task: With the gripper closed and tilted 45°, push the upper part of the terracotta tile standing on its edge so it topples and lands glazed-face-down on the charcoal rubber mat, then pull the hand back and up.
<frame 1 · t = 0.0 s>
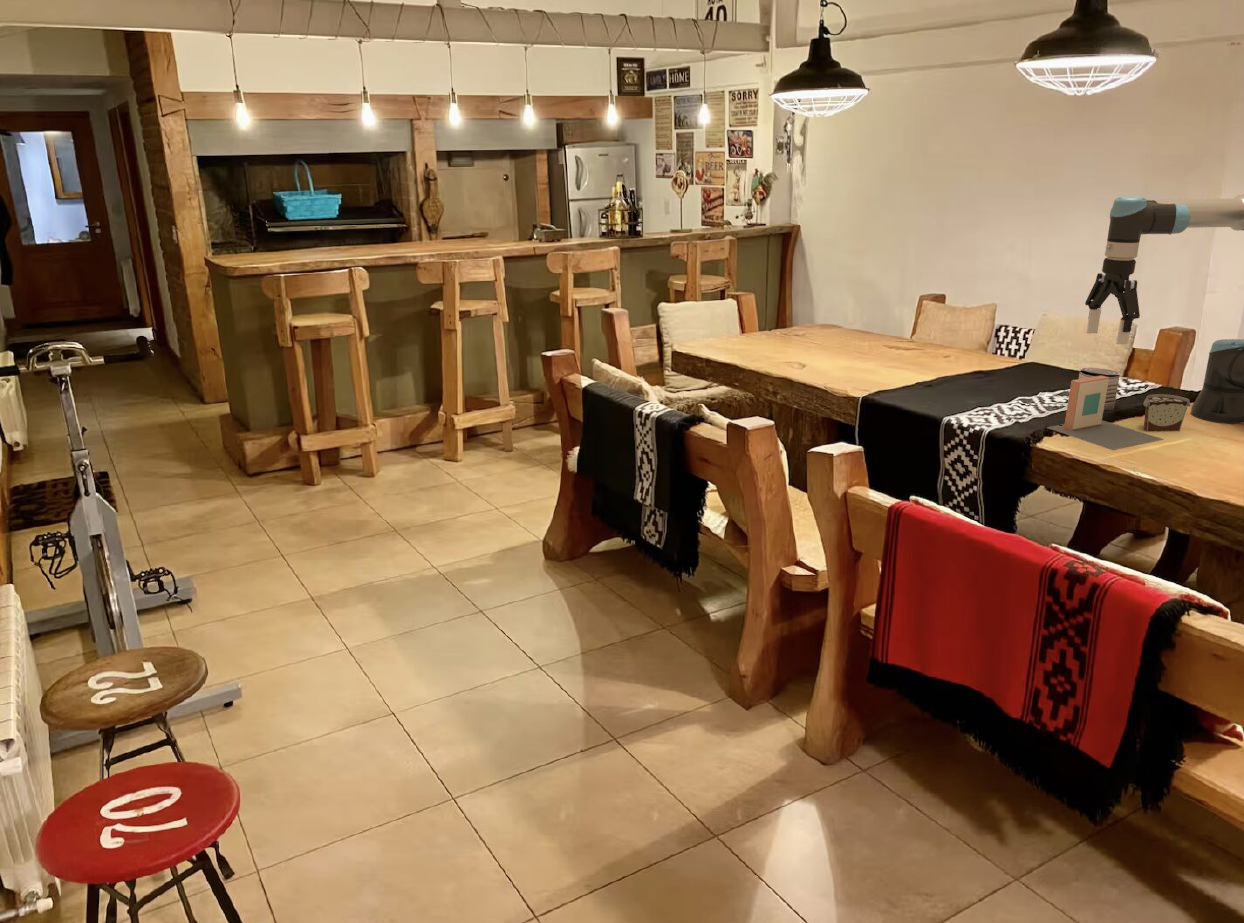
hand: (1106, 338, 250), 28 cm above the table, tool pointing down, fingers open, 13 cm apart
tile: (1082, 426, 266), point 1 cm above the table, touching mat
mat: (1103, 435, 260), on the table
food container: (1156, 431, 265), on the table
can: (1093, 407, 287), on the table
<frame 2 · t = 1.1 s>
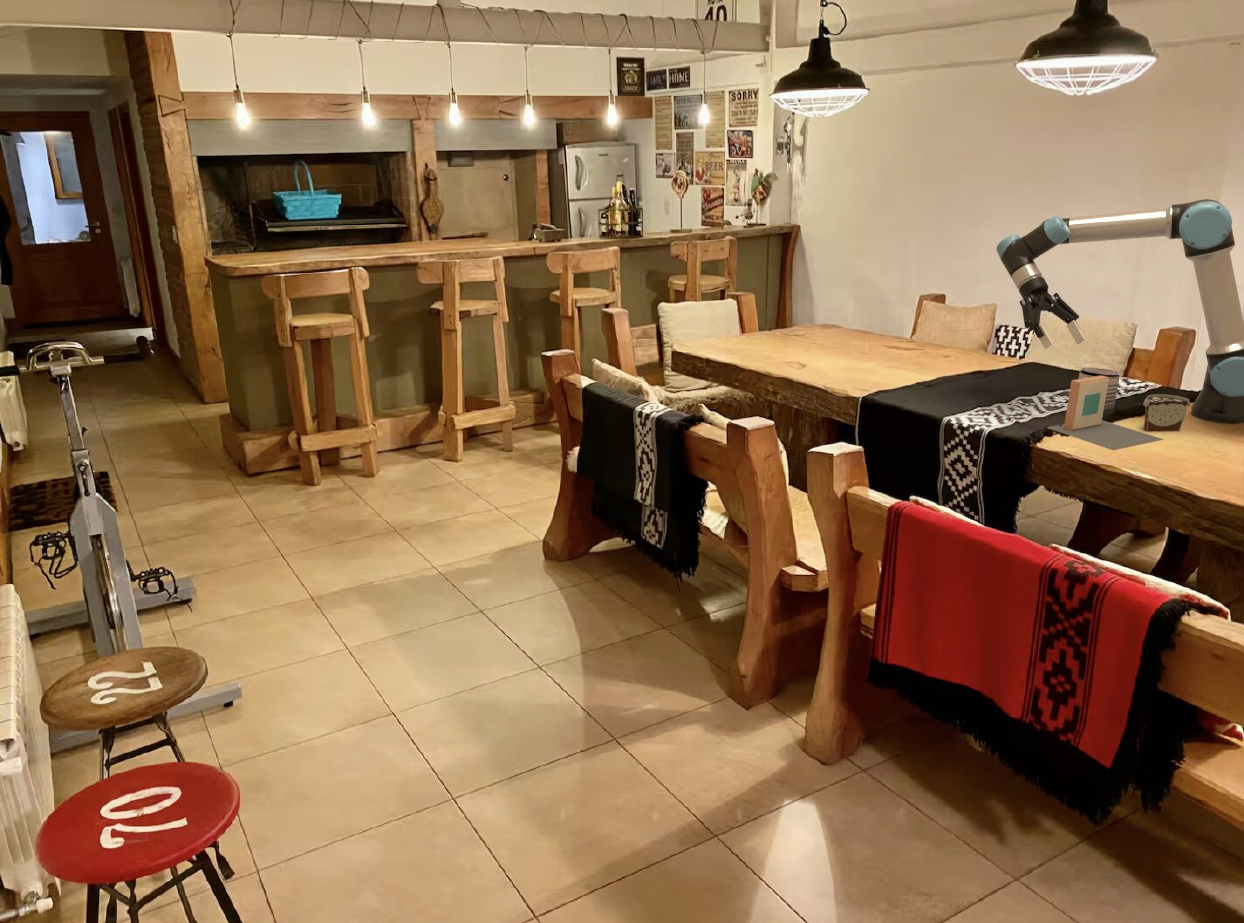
hand: (1065, 344, 267), 23 cm above the table, tool tilted 45°, fingers open, 12 cm apart
nothing on the table moved.
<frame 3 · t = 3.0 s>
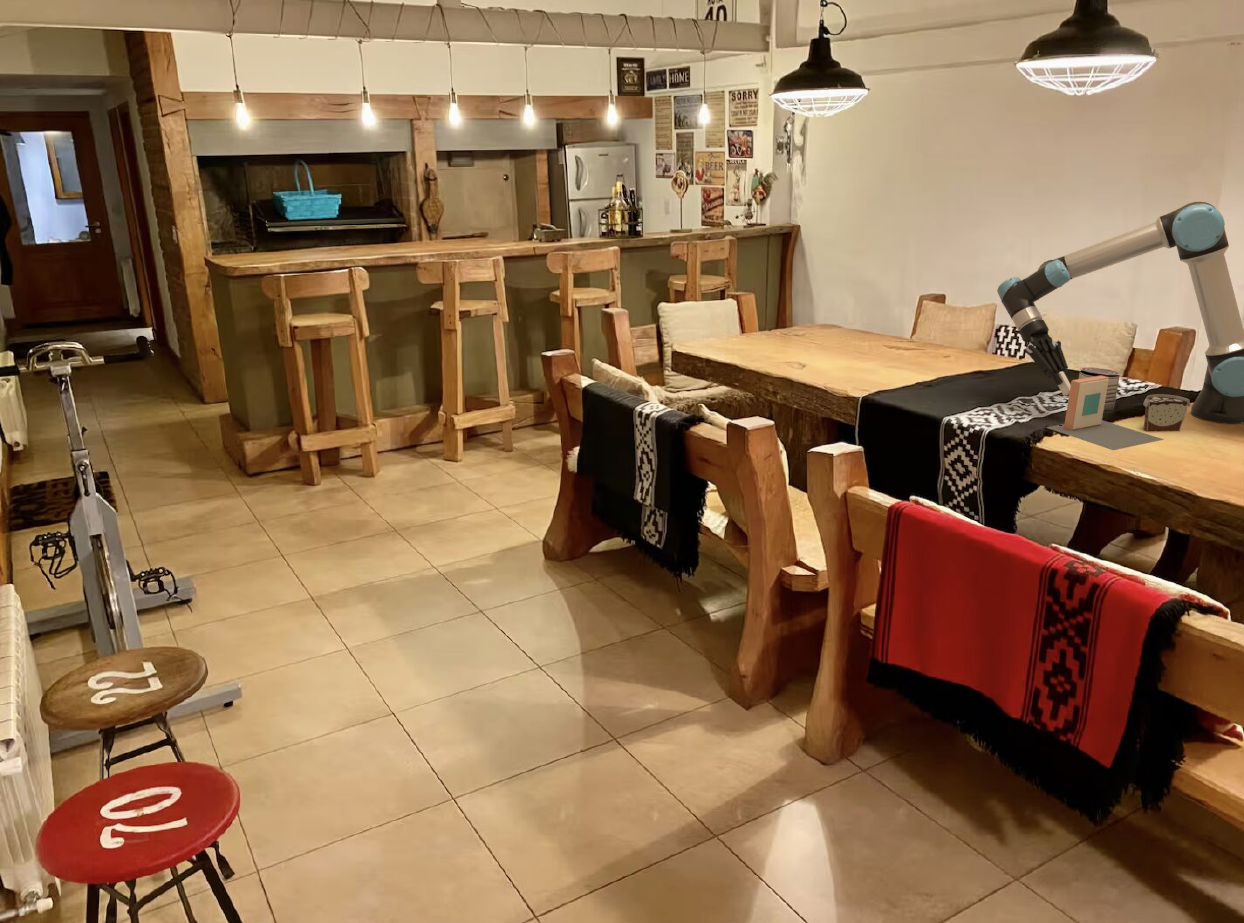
hand: (1068, 393, 268), 9 cm above the table, tool tilted 45°, fingers closed
nothing on the table moved.
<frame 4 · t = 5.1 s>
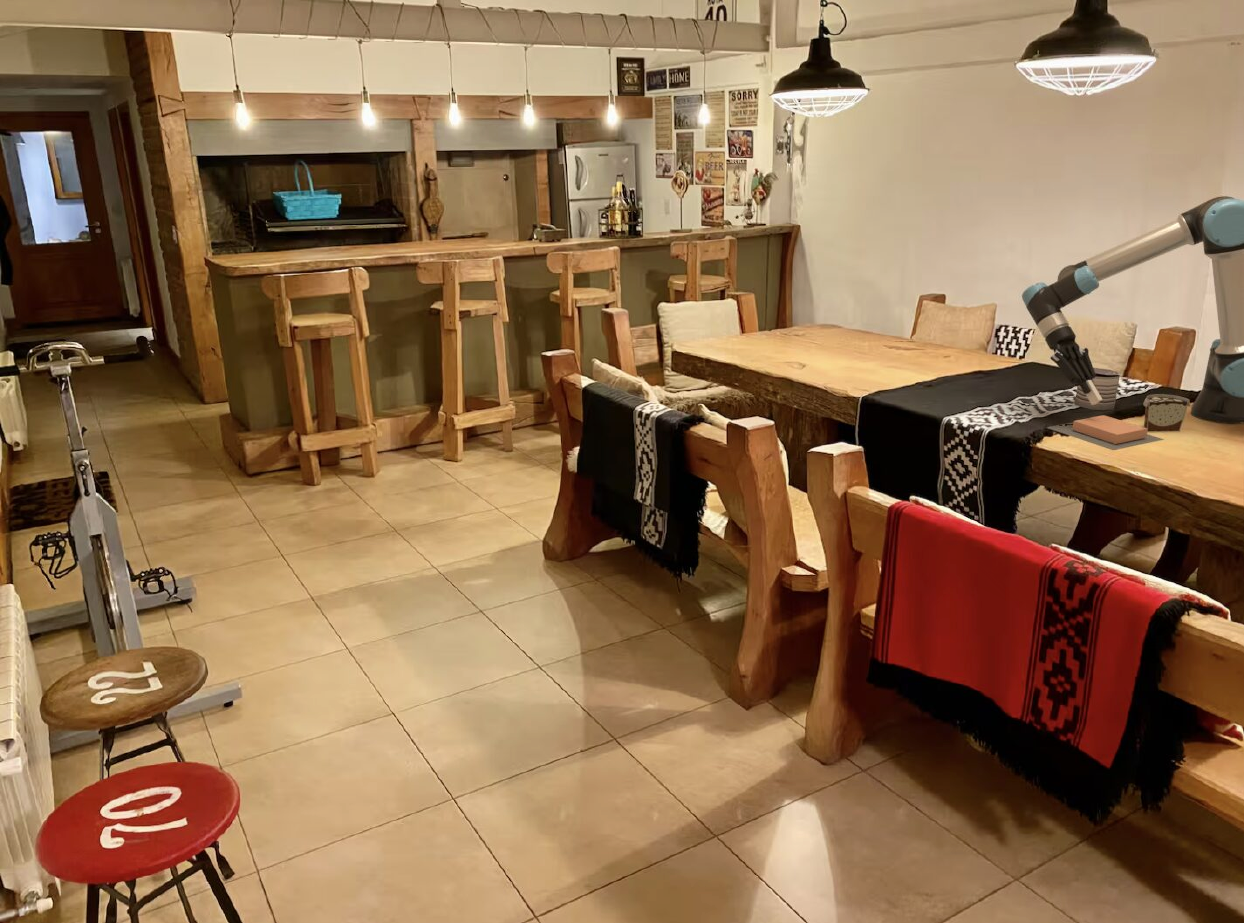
hand: (1097, 402, 260), 9 cm above the table, tool tilted 45°, fingers closed
tile: (1087, 422, 264), point 2 cm above the table, tilted 90°, touching mat
everything else where it was.
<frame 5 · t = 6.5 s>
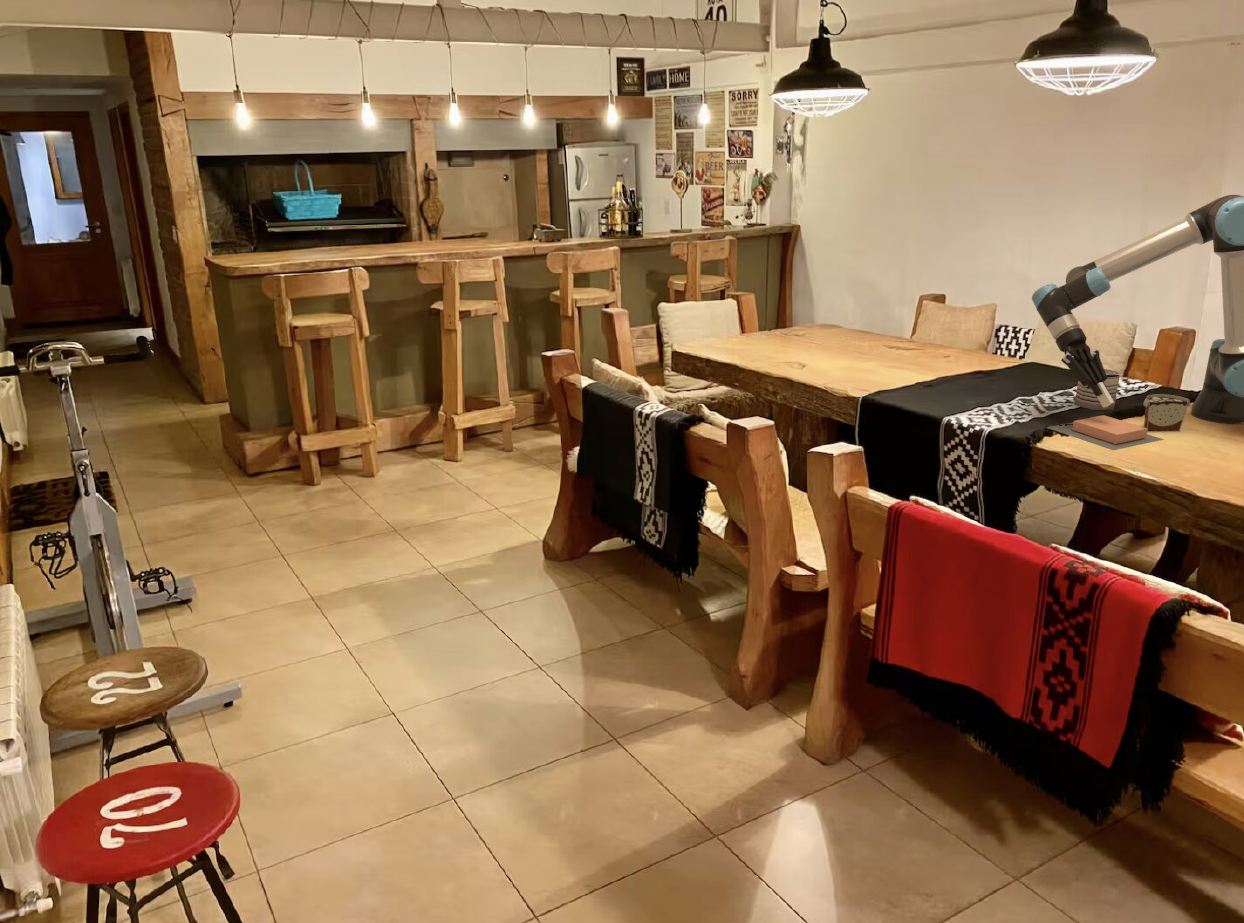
hand: (1108, 404, 257), 9 cm above the table, tool tilted 45°, fingers closed
nothing on the table moved.
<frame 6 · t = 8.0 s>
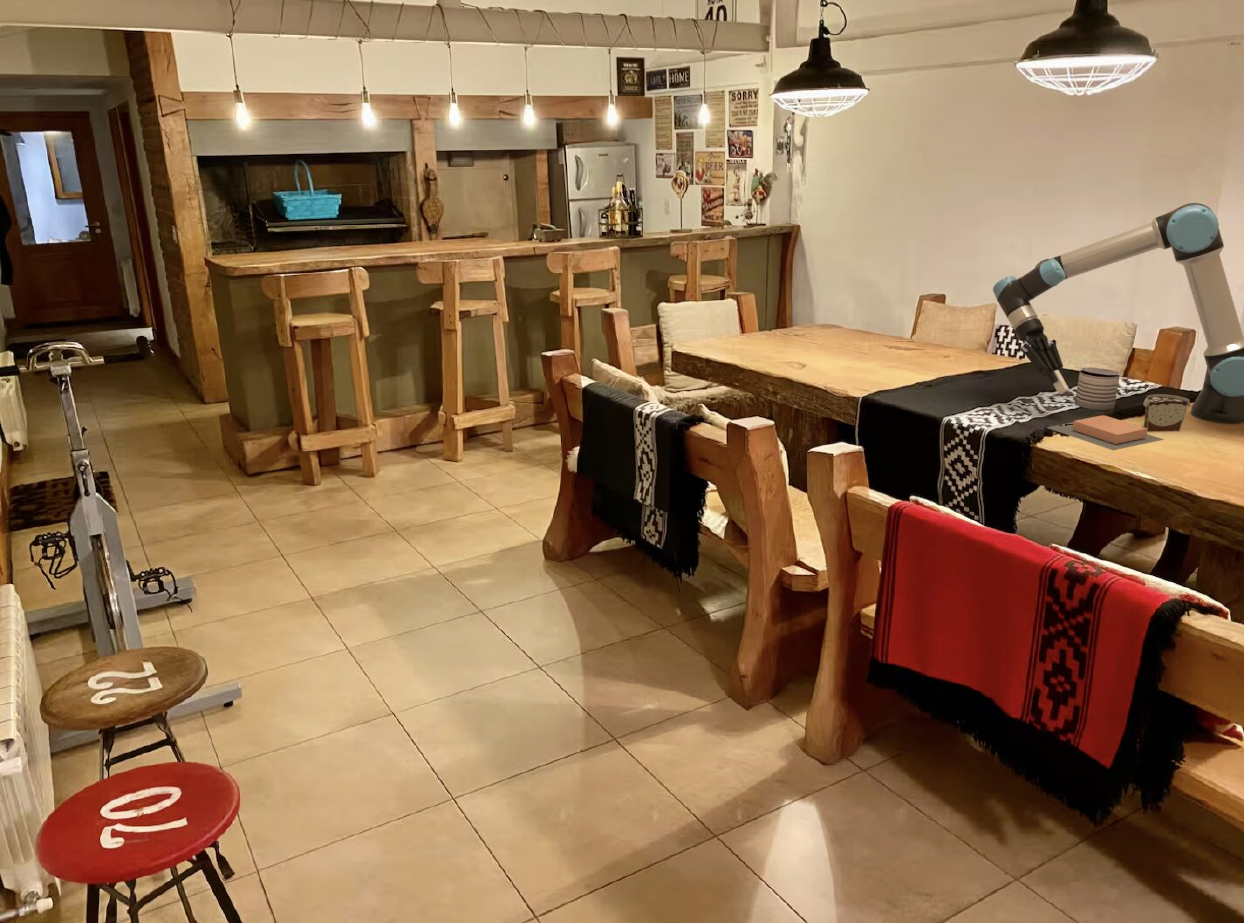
hand: (1063, 391, 270), 9 cm above the table, tool tilted 45°, fingers closed
nothing on the table moved.
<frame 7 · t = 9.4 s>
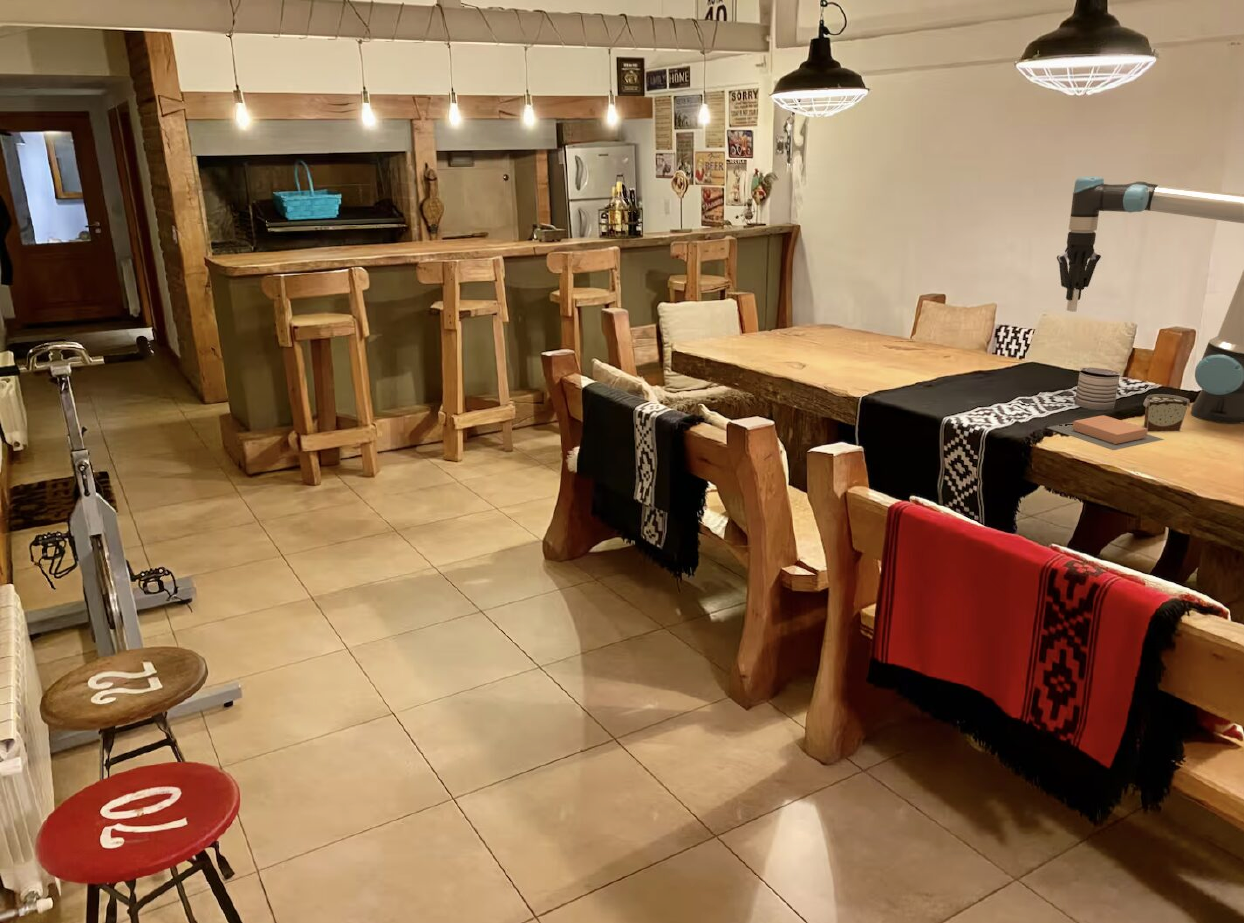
hand: (1071, 310, 283), 29 cm above the table, tool pointing down, fingers closed
nothing on the table moved.
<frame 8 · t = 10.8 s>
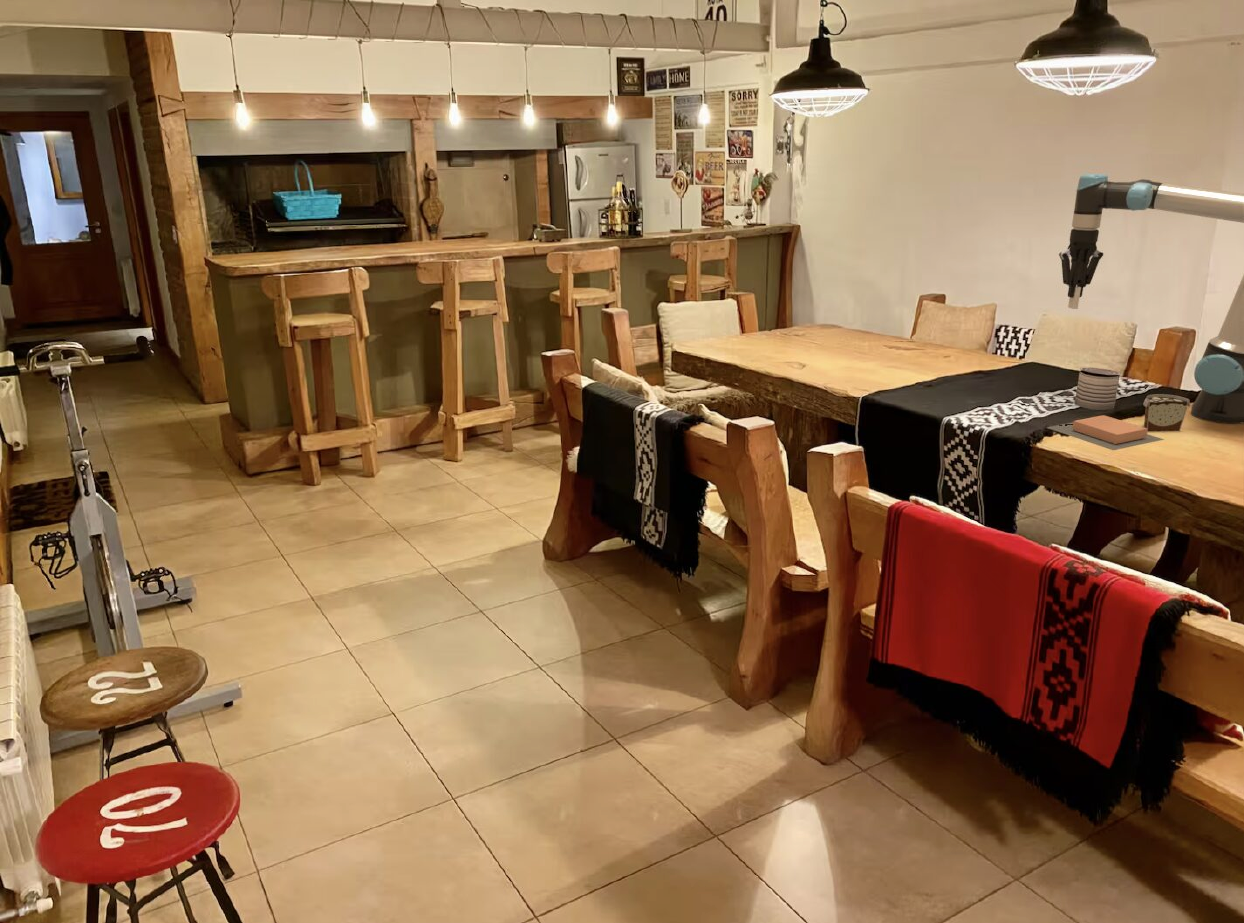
hand: (1072, 307, 283), 29 cm above the table, tool pointing down, fingers closed
nothing on the table moved.
at the end: tile tilted 90°; tile inside the target area on the mat (1.9 cm from its centre), point 2.5 cm above the mat's base; tile touching mat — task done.
